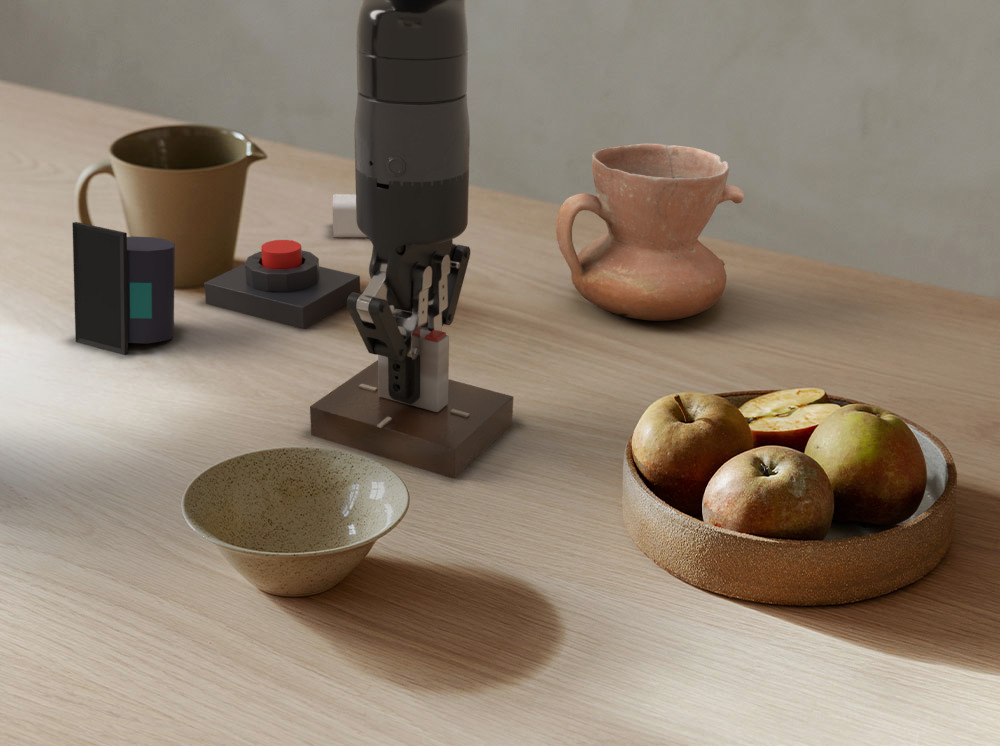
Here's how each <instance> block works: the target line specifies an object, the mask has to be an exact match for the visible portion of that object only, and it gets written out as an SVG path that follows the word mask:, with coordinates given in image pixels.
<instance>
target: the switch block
mask: <svg viewBox="0 0 1000 746" xmlns="http://www.w3.org/2000/svg"><path fill="white" fill-rule="evenodd" d="M203 285H204V296H205V304H206V305H209V306H212V307H216V308H220V309H224V310H228V311H232V312H236V313H239V314H242V315H247V316H251V317H254V318H258V319H263V320H266V321H270V322H273V323H278V324H281V325H286V326H290V327H293V328H297V329H301V330H306V329H307V328H309V327H311V326H313V325H314V324H316V323H317V322H319V321H321V320H323V319H324V318H326V317H328V316H330V315H331V314H333V313H335V312H337V311H338V310H339V309H341V308H343V307H345V306H347V299H348V297H349V295H350V294H351V293H352V292H354V293H358V294H361V275H358V274H355V273H349V272H345V271H340V270H337V269H333V268H328V267H325V266H324V267H323V266H320V259H319V257H318V256H317V255H315V254H313V253H312V252H311V251H307V250H304V249H302V265H300V266H298V267H295V268H289V269H271V268H266V267H263V265H262V252H261V251H257V252H256V253H253V254H251V255H249V256H248V257H247V258H246V261H245V263H243V264H240V265H239V266H237V267H234V268H232V269H231V270H228V271H226V272H224V273H221V274H219V275H217V276H215V277H214V278H211V279H209V280H207V281H204V283H203Z"/></svg>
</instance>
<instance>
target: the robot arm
mask: <svg viewBox="0 0 1000 746" xmlns="http://www.w3.org/2000/svg"><path fill="white" fill-rule="evenodd" d="M466 11H467V10H466V0H362V1H361V4H360V7H359V11H358V16H357V25H356V46H355V47H356V73H357V74H356V78H357V79H356V81H357V84H356V85H357V94H356V95H357V96H356V97H357V99H356V110H355V117H354V132H353V133H354V171H355V173H354V174H355V178H354V179H355V194H356V221H357V225H358V228H359V229H360V230H361V231H362V233H364V234H365V235H366V236H367V237H368V240H369V241H370V243H371V244H372V251H371V257H370V261H369V266H368V273H369V278H370V280H369V282H368V284H367V286H366V287H365V289H364V291H363V292H362V293H360V294H358V293H354V292H352V293H351V294H350V295H349V297H348V299H347V304H346V308H347V310H348V312H349V315H350V316H351V319H352V321H353V322H354V325H355V327H356V330H357V331H358V333H359V336H360V338H361V339H362V342H363V343H364V346H365V348H366V350H367V352H368V353H369V354H371V355H375V356H378V355H381V356H385V357H388V377H389V378H388V382H389V383H388V390H389V395H390V397H391V398H392V399H394V400H397V401H400V402H404V403H408V404H413V403H414V402H416V401H417V400H418V399H419V398H420V355H418V354H419V350H420V329H423V330H427V331H433V330H437V331H442V332H443V326H444V325H445V326H451V325H452V324H453V322H454V318H455V315H456V311H457V307H458V303H459V300H460V295H461V291H462V288H463V283H464V280H465V278H466V277H465V276H466V273H467V269H468V266H469V261H470V257H471V247H470V246H467V245H463V244H458V243H454V241H453V240H454V239H456V238H458V237H459V236H461V235H462V234H463V233H464V232H465V231H466V229H467V227H468V225H469V224H468V223H469V192H470V191H469V187H470V144H471V143H470V140H471V133H470V132H471V129H470V117H469V116H470V115H469V108H468V107H469V106H468V64H469V63H468V61H469V60H468V59H469V52H468V51H469V39H468V38H469V37H468V23H467V22H468V21H467V13H466ZM398 326H399V327H403V328H404V329H405V330H406V339H403V337H402V335H401V332H400V330H399V328H398Z"/></svg>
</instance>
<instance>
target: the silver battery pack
mask: <svg viewBox="0 0 1000 746" xmlns="http://www.w3.org/2000/svg"><path fill="white" fill-rule="evenodd" d="M398 328H399V330H400V332H401V335H402V337H403V339H406V330H405V329H404V328H403V327H399V326H398ZM418 355H420V398H419V399H418V400H417V401H416V402H414V403H413V404H408V403H404V402H401V403H404V404H408V405H412V406H415V407H419V408H423V409H426V410H430V411H434V412H439V411H440V410H441V409H443V408H444V407H445V406H446V405H447V404H448V379H449V375H450V374H449V372H450V371H449V370H450V369H449V368H450V335H447V332H445V331H443V330H442V331H437V330H433V331H427V330H423V329H420V350H419V354H418ZM377 360H378V381H379V397H382V398H386V399H390V400H393V401H397V400H394V399H392V398H391V397H390V395H389V390H388V383H389V382H388V378H389V377H388V357H385V356H381V355H377ZM397 402H400V401H397Z"/></svg>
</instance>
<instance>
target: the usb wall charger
mask: <svg viewBox="0 0 1000 746" xmlns="http://www.w3.org/2000/svg"><path fill="white" fill-rule="evenodd" d="M332 230H333V231H332V235H333V238H334V239H335V238H339V239H341V238H342V239H343V238H350V239H351V238H355V239H356V238H361V239H363V238H365V239H366V238H368V237H367V236H366V235H365V234H364V233H362V231H361V230H360V229H359V228H358V225H357V221H356V193H351V194H350V193H343V194H342V193H333V196H332ZM368 239H369V238H368Z"/></svg>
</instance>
